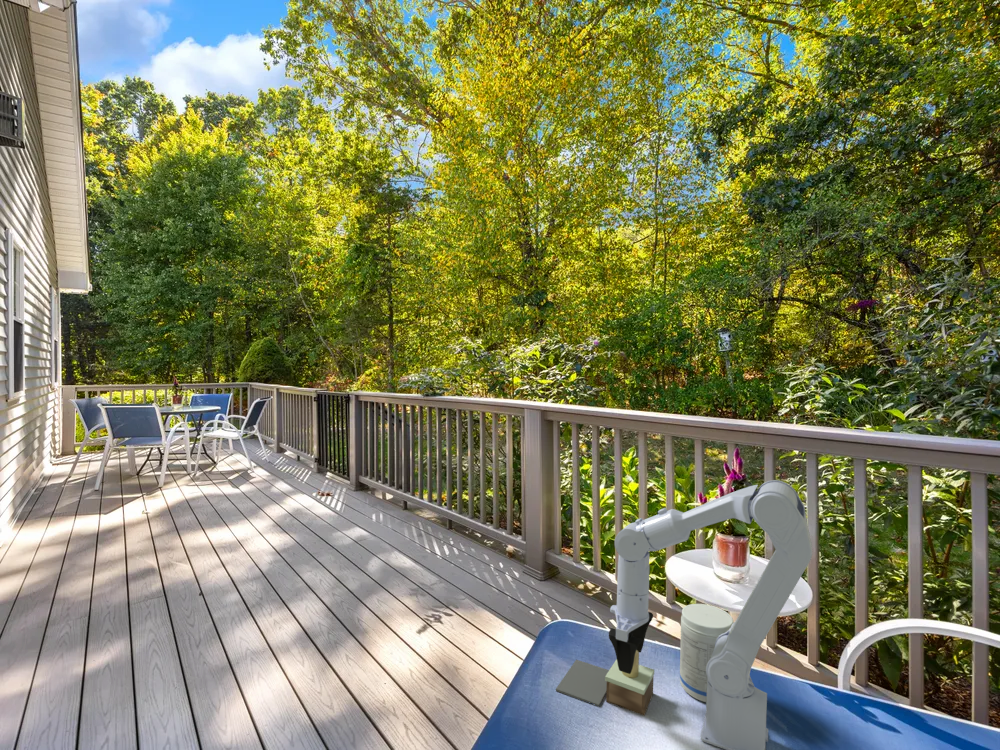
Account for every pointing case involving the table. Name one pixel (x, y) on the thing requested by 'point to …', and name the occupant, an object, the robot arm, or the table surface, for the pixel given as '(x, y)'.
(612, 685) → the box
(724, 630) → the supplement tub
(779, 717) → the table surface
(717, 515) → the robot arm
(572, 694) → the mat
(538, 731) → the table surface
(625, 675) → the lid
